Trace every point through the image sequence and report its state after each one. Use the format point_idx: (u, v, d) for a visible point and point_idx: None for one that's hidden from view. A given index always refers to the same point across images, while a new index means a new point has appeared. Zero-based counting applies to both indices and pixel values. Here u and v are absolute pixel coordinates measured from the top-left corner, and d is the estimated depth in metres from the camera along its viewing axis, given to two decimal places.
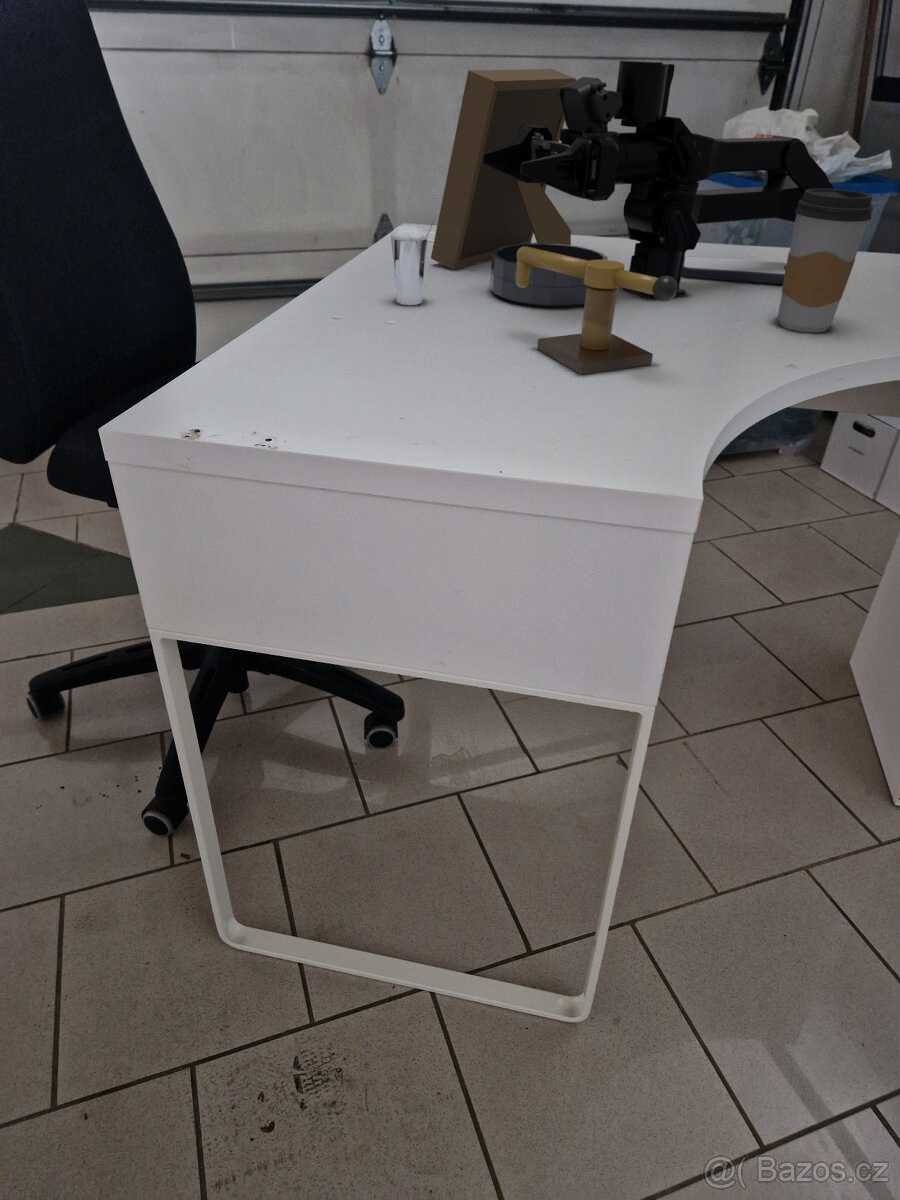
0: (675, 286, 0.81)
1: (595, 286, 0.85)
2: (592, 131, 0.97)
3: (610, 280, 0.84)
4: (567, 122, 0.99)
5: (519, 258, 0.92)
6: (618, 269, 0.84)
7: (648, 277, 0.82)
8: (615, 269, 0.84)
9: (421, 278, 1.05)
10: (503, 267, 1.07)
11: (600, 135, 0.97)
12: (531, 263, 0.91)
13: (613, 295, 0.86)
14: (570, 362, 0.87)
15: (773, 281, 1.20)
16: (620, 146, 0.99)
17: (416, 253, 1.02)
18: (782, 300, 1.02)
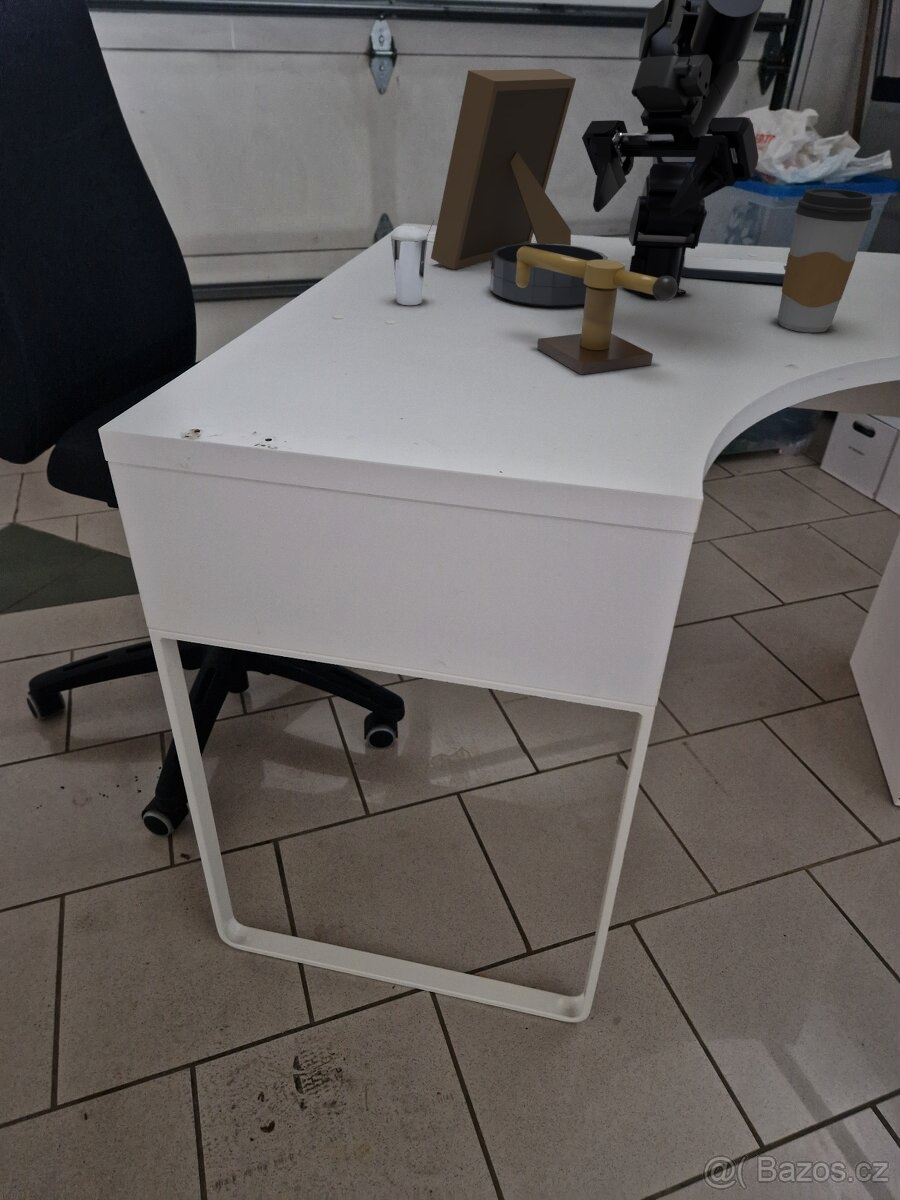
0: (675, 286, 0.81)
1: (595, 286, 0.85)
2: (690, 106, 0.85)
3: (610, 280, 0.84)
4: (646, 108, 0.87)
5: (519, 258, 0.92)
6: (618, 269, 0.84)
7: (648, 277, 0.82)
8: (615, 269, 0.84)
9: (421, 278, 1.05)
10: (503, 267, 1.07)
11: (698, 103, 0.85)
12: (531, 263, 0.91)
13: (613, 295, 0.86)
14: (570, 362, 0.87)
15: (773, 281, 1.20)
16: (710, 88, 0.87)
17: (416, 253, 1.02)
18: (782, 300, 1.02)
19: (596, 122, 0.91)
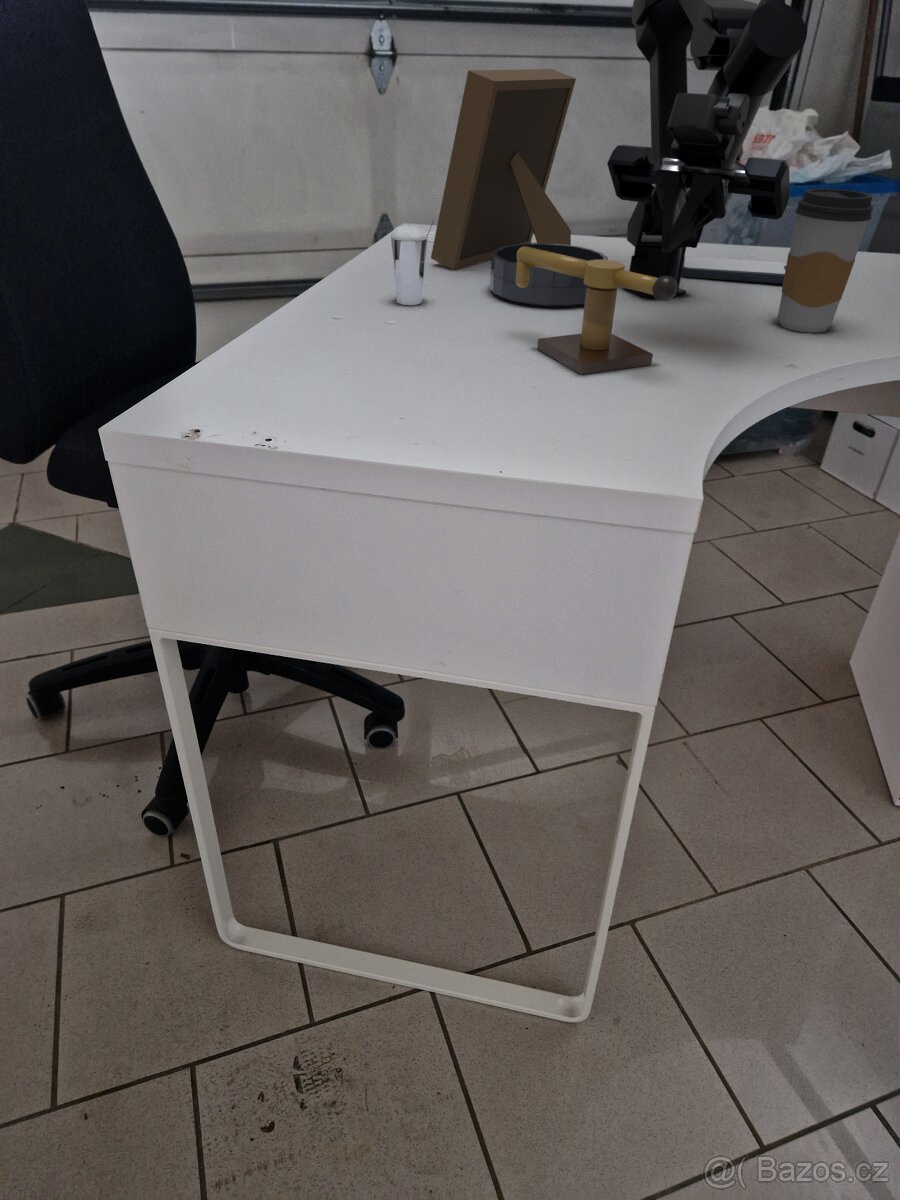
0: (675, 286, 0.81)
1: (595, 286, 0.85)
2: (723, 141, 0.84)
3: (610, 280, 0.84)
4: (678, 139, 0.85)
5: (519, 258, 0.92)
6: (618, 269, 0.84)
7: (648, 277, 0.82)
8: (615, 269, 0.84)
9: (421, 278, 1.05)
10: (503, 267, 1.07)
11: (732, 138, 0.84)
12: (531, 263, 0.91)
13: (613, 295, 0.86)
14: (570, 362, 0.87)
15: (773, 281, 1.20)
16: None
17: (416, 253, 1.02)
18: (782, 300, 1.02)
19: (622, 148, 0.89)
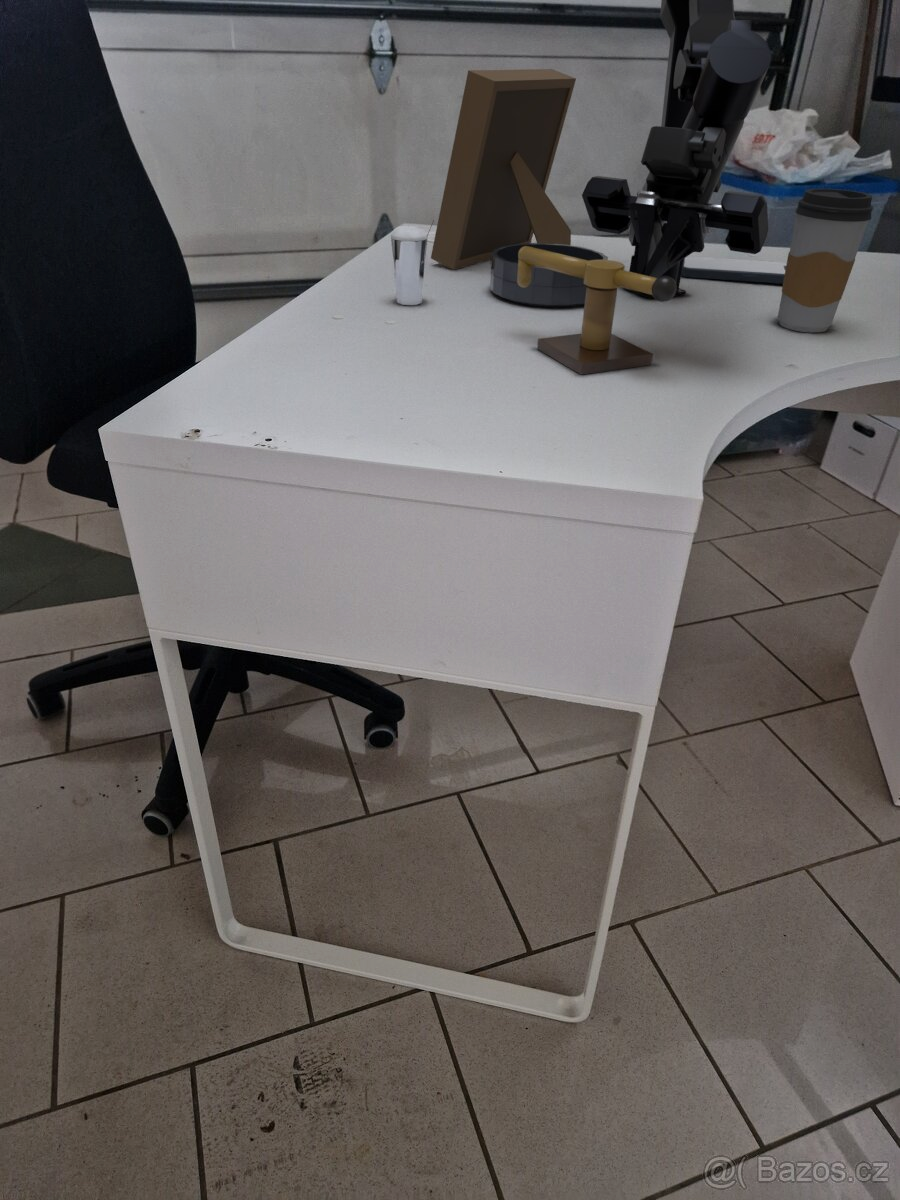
0: (674, 286, 0.81)
1: (595, 286, 0.85)
2: (700, 175, 0.81)
3: (610, 280, 0.84)
4: (653, 172, 0.83)
5: (521, 257, 0.92)
6: (618, 269, 0.84)
7: (647, 277, 0.82)
8: (615, 269, 0.84)
9: (421, 278, 1.05)
10: (503, 267, 1.07)
11: (708, 171, 0.82)
12: (532, 263, 0.91)
13: (613, 295, 0.86)
14: (570, 362, 0.87)
15: (773, 281, 1.20)
16: None
17: (416, 253, 1.02)
18: (782, 300, 1.02)
19: (597, 180, 0.86)
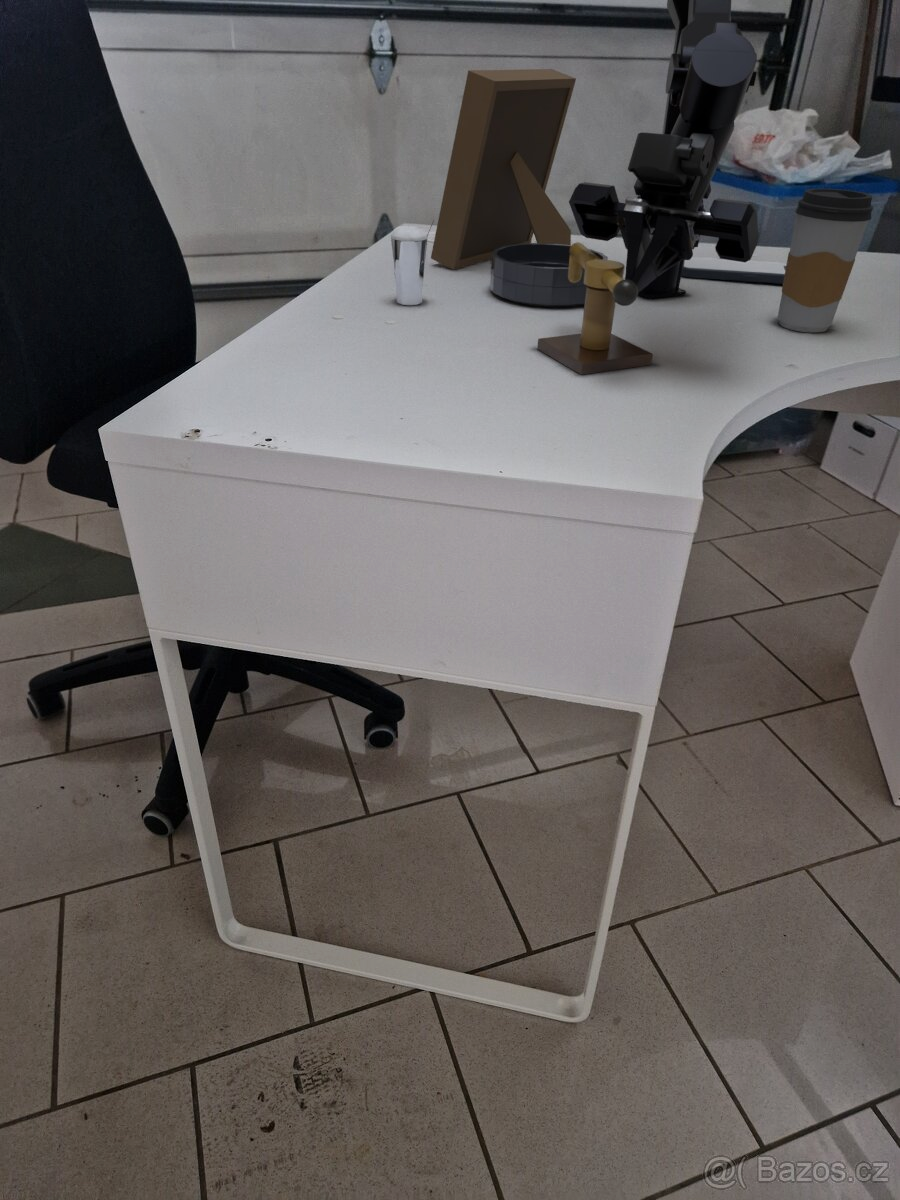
0: (629, 291, 0.79)
1: (586, 283, 0.86)
2: (688, 182, 0.80)
3: (598, 279, 0.85)
4: (641, 179, 0.81)
5: None
6: (607, 269, 0.84)
7: (617, 279, 0.81)
8: (603, 269, 0.84)
9: (421, 278, 1.05)
10: (503, 267, 1.07)
11: (697, 178, 0.80)
12: (574, 258, 0.94)
13: None
14: (570, 362, 0.87)
15: (773, 281, 1.20)
16: None
17: (416, 253, 1.02)
18: (782, 300, 1.02)
19: (584, 186, 0.84)
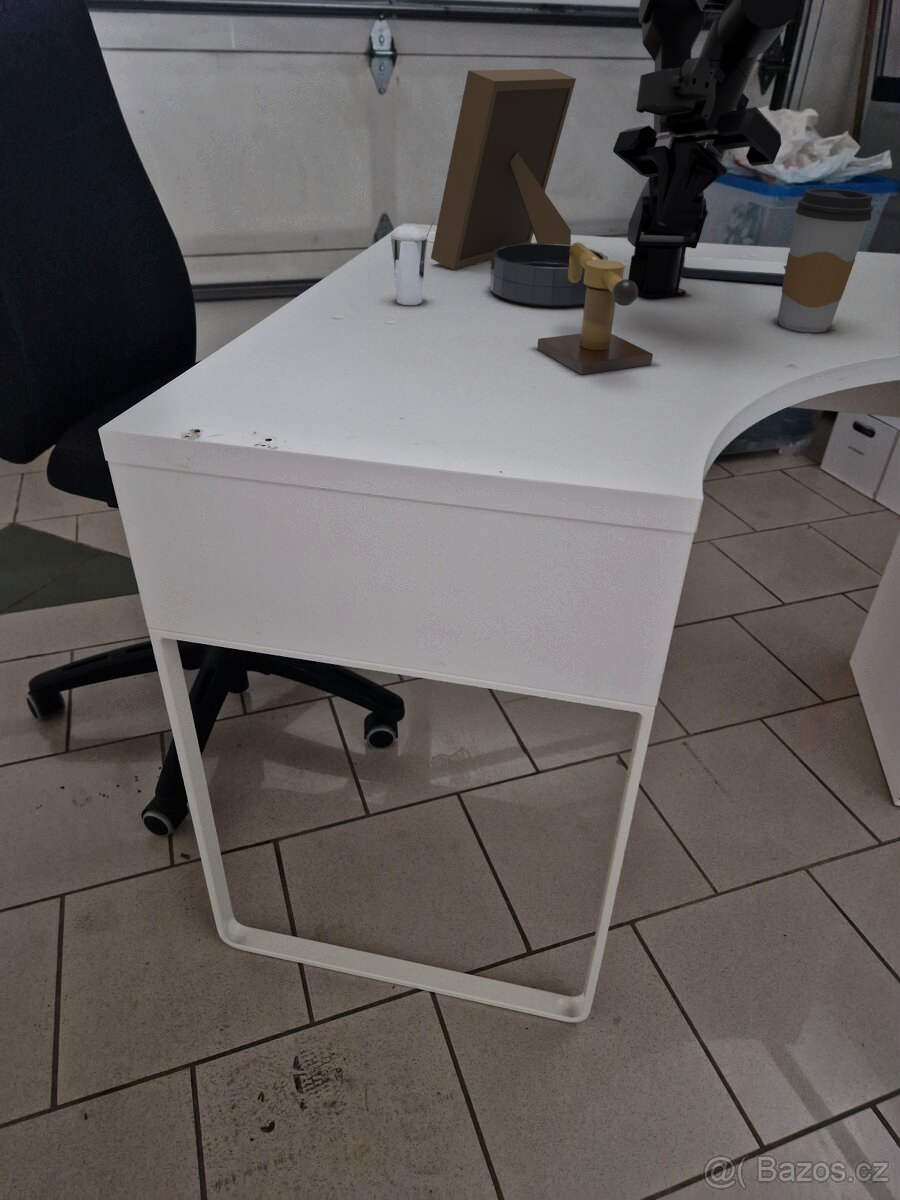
0: (629, 291, 0.79)
1: (586, 283, 0.86)
2: (700, 104, 0.84)
3: (598, 279, 0.85)
4: (661, 114, 0.87)
5: None
6: (607, 269, 0.84)
7: (617, 279, 0.81)
8: (603, 269, 0.84)
9: (421, 278, 1.05)
10: (503, 267, 1.07)
11: (709, 97, 0.84)
12: (574, 258, 0.94)
13: None
14: (570, 362, 0.87)
15: (773, 281, 1.20)
16: (726, 71, 0.84)
17: (416, 253, 1.02)
18: (782, 300, 1.02)
19: (623, 134, 0.92)
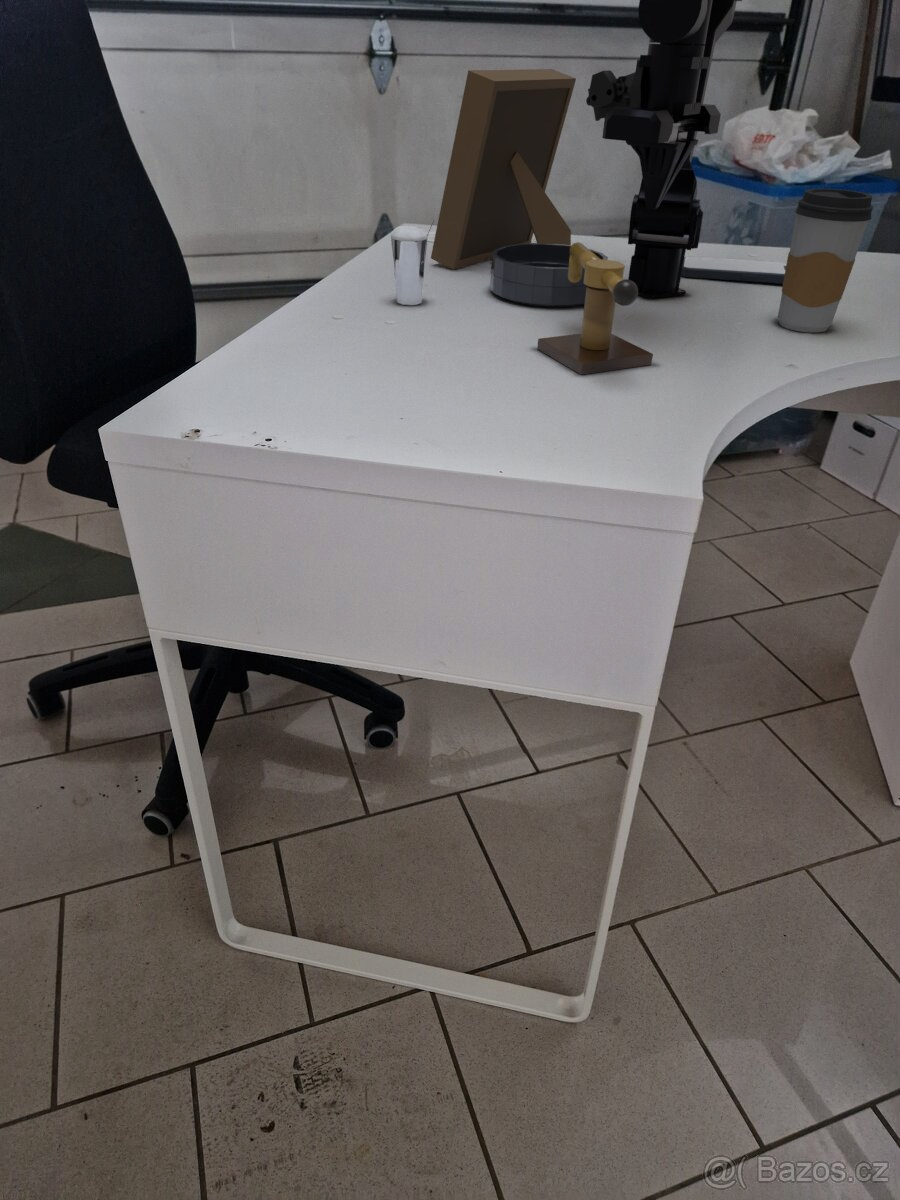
0: (629, 291, 0.79)
1: (586, 283, 0.86)
2: None
3: (598, 279, 0.85)
4: None
5: None
6: (607, 269, 0.84)
7: (617, 279, 0.81)
8: (603, 269, 0.84)
9: (421, 278, 1.05)
10: (503, 267, 1.07)
11: (633, 90, 0.87)
12: (574, 258, 0.94)
13: None
14: (570, 362, 0.87)
15: (773, 281, 1.20)
16: (652, 51, 0.85)
17: (416, 253, 1.02)
18: (782, 300, 1.02)
19: None
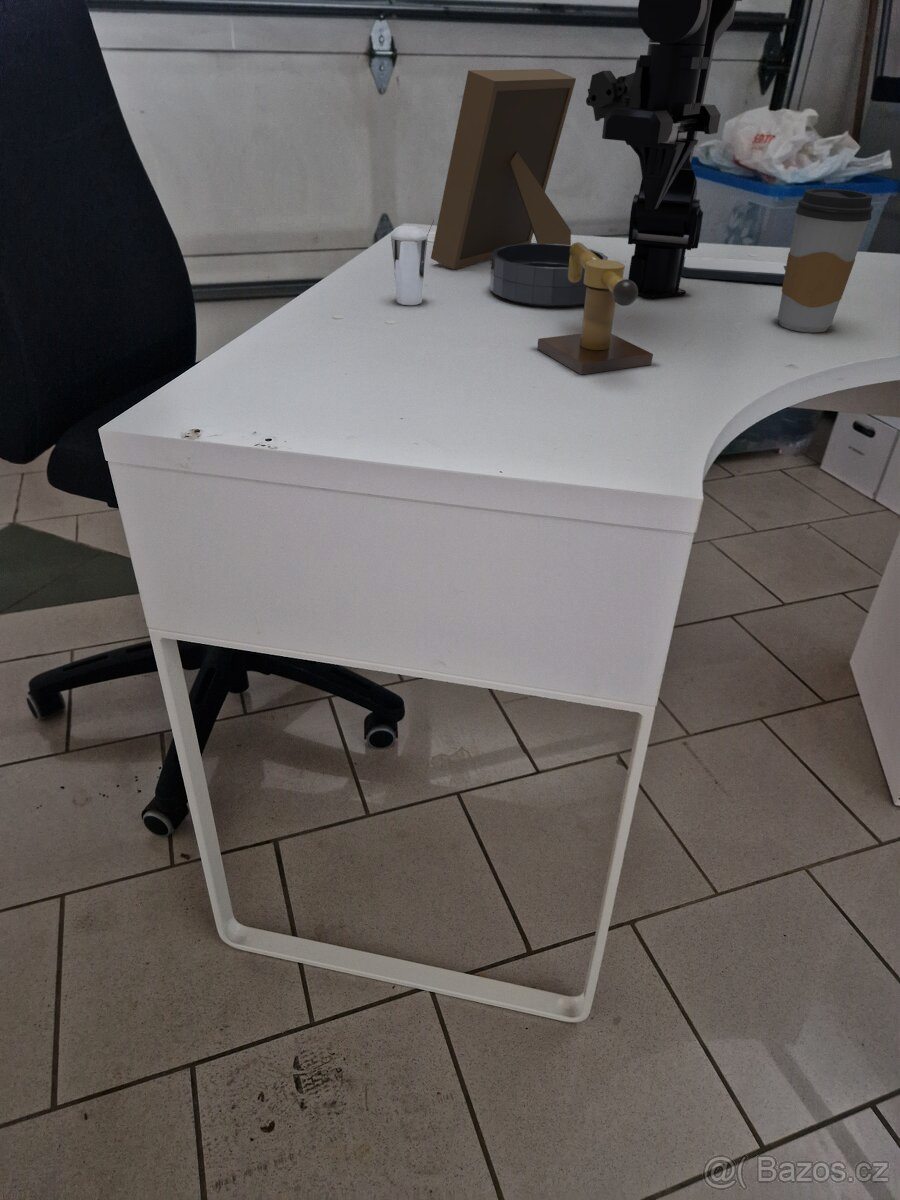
0: (629, 291, 0.79)
1: (586, 283, 0.86)
2: None
3: (598, 279, 0.85)
4: None
5: None
6: (607, 269, 0.84)
7: (617, 279, 0.81)
8: (603, 269, 0.84)
9: (421, 278, 1.05)
10: (503, 267, 1.07)
11: (633, 90, 0.87)
12: (574, 258, 0.94)
13: None
14: (570, 362, 0.87)
15: (773, 281, 1.20)
16: (651, 52, 0.85)
17: (416, 253, 1.02)
18: (782, 300, 1.02)
19: None
